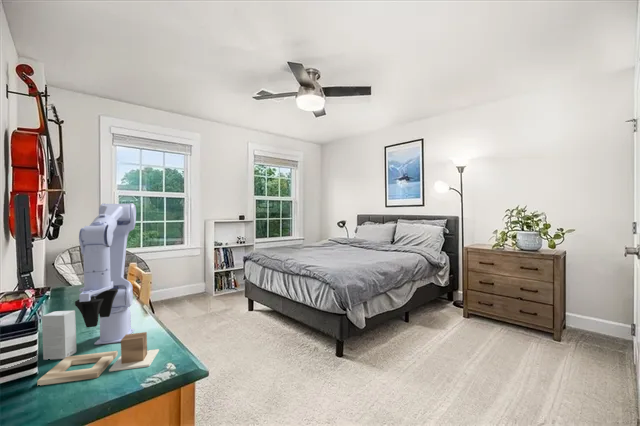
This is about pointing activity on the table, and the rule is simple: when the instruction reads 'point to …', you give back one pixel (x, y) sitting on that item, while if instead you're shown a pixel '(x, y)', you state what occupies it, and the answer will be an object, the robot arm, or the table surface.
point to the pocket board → (61, 375)
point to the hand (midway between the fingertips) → (98, 321)
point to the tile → (139, 364)
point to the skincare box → (59, 334)
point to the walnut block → (133, 347)
